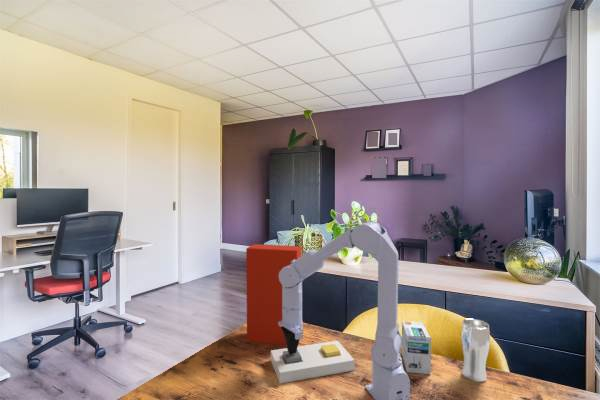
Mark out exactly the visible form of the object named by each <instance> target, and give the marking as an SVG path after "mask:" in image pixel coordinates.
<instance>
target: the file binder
mask: <svg viewBox="0 0 600 400" xmlns="http://www.w3.org/2000/svg"><path fill="white" fill-rule="evenodd" d="M302 248H303V247H302V245H282V244H261V243H254V244H252V245H250V246H249V247H247V248H246V251H245V252H246V253H245V254H246V259H245V260H246V261H245V262H246V263H245V264H246V341H247V342H251V343H261V344H271V345H280V346H287V345H286V339H285V336H284V333H283V331H282V329H281V327H283V326H279V325H278V322H279V321H282V284H281V283H280V281H279V272H280V271H281V270H282V269H283V267H286V266H289V265H291V264H292V263H291V261H293V260H294V259H295V260H297V259H298V258H300V257H301V256H302V254H303V251H302V250H303V249H302Z"/></svg>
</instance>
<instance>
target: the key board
mask: <svg viewBox="0 0 600 400" xmlns="http://www.w3.org/2000/svg"><path fill="white" fill-rule="evenodd" d="M330 344H335V345H336V347H337V348H338V349H339V350H340V356H334V357H328V358H325V357H324V355H323V354H322V352H321V346H324V345H330ZM297 350H298V352H299V354H300V355H301V362H298V363H291V364H285V362H284V360H283V351H288V349H287V347H286V348H285V347H284V348H279V349H273V350H272V349H271V350H270V362H271V364H272V367H273V370H274V373H275V374H276V377H277V380H278V382H279V384H285V383H291V382H295V381H296V382H297V381H301V380H308V379H313V378H318V377H319V378H320V377H323V376H330V375H335V374H341V373H346V372H347V373H348V372H352V371H353V372H354V371H355V364H356V363H355V359H354V358H353V357H352V356H351V354H350V353H349V352H348V351H347V349H346V348H345V347H344V346H343V345H342V344H341V343H340V342H339V340H333V341H325V342H320V343H312V344H305V345H298V347H297Z"/></svg>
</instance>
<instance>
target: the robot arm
mask: <svg viewBox="0 0 600 400" xmlns="http://www.w3.org/2000/svg"><path fill="white" fill-rule="evenodd" d="M355 247H356V248H357V249H358V250H360V251H362V252H364V253H366V254H369V255H370V256H371V257H372V258H373V259H374V260H375V261H376V262H377V265H378V266H377V324H376V330H375V335H374V336H375V337H374V343H373V345H372V347H371V349H370V351H371V357H372V364H371V365H372V368H371V369H372V370H371V371H372V372H371V373H372V376H371V377H372V378H371V380H372V381H371V383H370V384H367V385H365V389H366V390H367V391H368V393H369V394H370V395H371V397H373V399H374V400H411V380H410V376H409V375H408V374H407V372H406V371H405V370H404V369H405V368H404V367H403V357H402V355H401V354H400V350H401V349H402V333H401V332H400V324H399V322H398V314H399V312H398V310H399V309H398V306H399V305H398V303H399V302H398V301H399V298H398V297H399V291H398V290H399V251H398V250H397V248H396V247H395V244H394V243H393V241H392V240H391V237H390V235H389V234H388V232H387V229H386V228H385V227H383V226H382V225H380V223H378V222H377V221H374V220H368V221H365V222H364V223H362V224H358V225H356V226H355V227H352V228H351V229H348V230H346V231H344V232H342V233H341V234H339V235H338V236H336V237H335V238H334V239H332V240H331V241H329V242H328V243H326V245H324V246H322V247H321V248H320V249H318V250H316V249H310V250H309V249H307V250H305V251H302V254H303V255H301V257H300V258H298V259H297V260H295V259H294V260H293V261H291V263H292V264H291V265H289V266H286V267H283V269H282V270H281V271H280V272H279V281H280V283H281V284H282V321H279V322H278V325H279V326H283V327H281V329H282V331H283V333H284V336H285V339H286V345H285V346H286V348H287V349H288V352H289V354H293V353H296V351H297V347H298V346H299V344H300V340H302V339H303V338H304V329H303V325H304V323H303V322H304V321H303V282H304V280H305V279H307V278H308V277H310V276H312V275H313V274H314V273H316V272H318V271H319V270H322V268H324V263H325V261H326V260H327V259H329V258H330V257H331V256H333V255H336V254H337V253H339V252H340V251H342V250H343V249H345V248H346V249H347V248H348V249H354V248H355Z"/></svg>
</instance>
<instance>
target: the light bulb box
mask: <svg viewBox="0 0 600 400" xmlns="http://www.w3.org/2000/svg"><path fill="white" fill-rule="evenodd" d="M401 336H402V346H401V358H402V361H403V363H404V367H405V370H406V373H414V374H423V375H431V369H432V364H431V363H432V337H431V334H430V333H429V332H428V330H427V328H426V326H425V324H424V322H417V321H408V320H402V321H401Z"/></svg>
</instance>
